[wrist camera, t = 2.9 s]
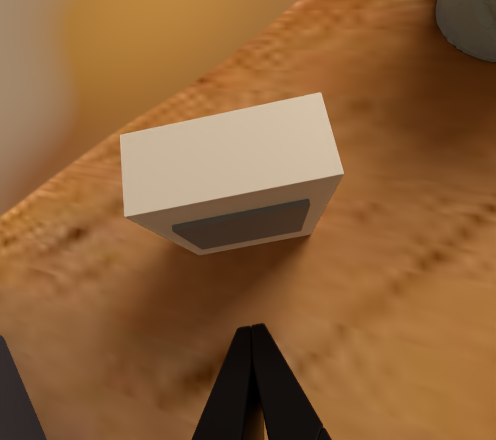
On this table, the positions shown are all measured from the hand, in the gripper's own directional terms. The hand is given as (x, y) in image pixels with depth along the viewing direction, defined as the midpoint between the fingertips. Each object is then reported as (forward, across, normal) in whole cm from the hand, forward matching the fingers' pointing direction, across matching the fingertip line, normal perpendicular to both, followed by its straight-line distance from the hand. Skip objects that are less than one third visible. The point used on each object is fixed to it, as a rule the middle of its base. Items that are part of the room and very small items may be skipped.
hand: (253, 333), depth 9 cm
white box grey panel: (+10, 0, +2) cm, 10 cm away
